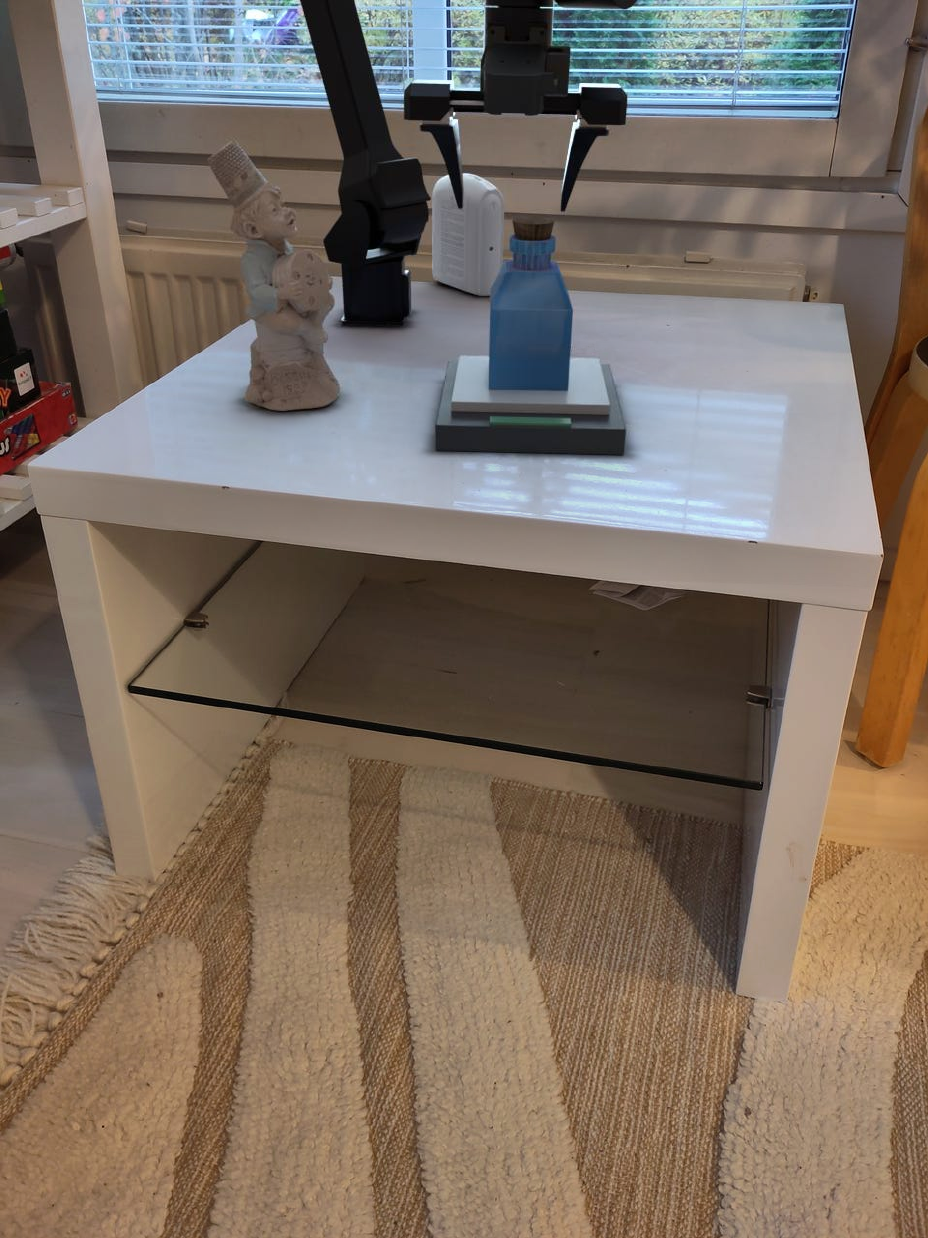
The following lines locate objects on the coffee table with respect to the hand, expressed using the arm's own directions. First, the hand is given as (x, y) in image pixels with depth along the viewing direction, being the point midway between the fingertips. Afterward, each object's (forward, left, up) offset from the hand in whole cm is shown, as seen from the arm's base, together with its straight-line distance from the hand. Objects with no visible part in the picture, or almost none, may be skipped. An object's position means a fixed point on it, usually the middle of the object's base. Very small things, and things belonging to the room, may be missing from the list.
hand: (511, 209), depth 91 cm
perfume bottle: (+2, -17, -10) cm, 20 cm away
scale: (+2, -18, -13) cm, 22 cm away
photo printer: (-5, +26, -13) cm, 29 cm away
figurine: (-18, -15, -13) cm, 27 cm away
